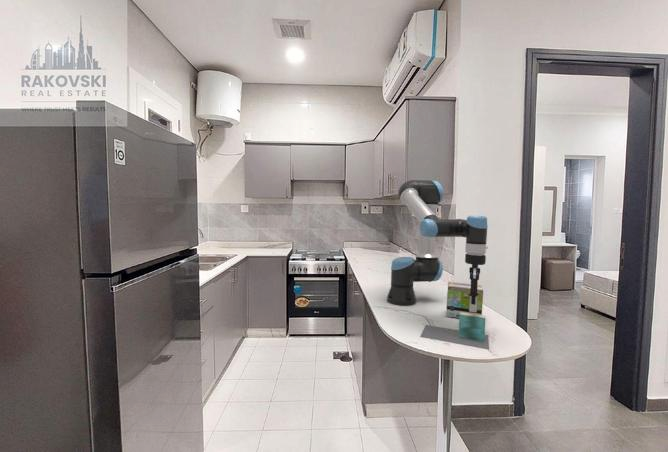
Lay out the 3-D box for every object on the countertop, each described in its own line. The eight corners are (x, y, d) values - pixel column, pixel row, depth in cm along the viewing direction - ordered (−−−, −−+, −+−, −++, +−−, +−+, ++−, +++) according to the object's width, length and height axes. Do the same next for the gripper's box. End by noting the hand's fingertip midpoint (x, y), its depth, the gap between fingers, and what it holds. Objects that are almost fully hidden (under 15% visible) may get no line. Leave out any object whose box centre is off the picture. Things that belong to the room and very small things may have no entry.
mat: (419, 338, 122) (420, 336, 122) (425, 325, 135) (425, 324, 135) (489, 351, 112) (489, 349, 112) (488, 336, 125) (488, 335, 125)
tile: (458, 337, 123) (459, 314, 122) (458, 334, 125) (459, 311, 125) (484, 341, 119) (485, 318, 118) (484, 338, 122) (485, 315, 121)
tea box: (446, 317, 146) (447, 285, 145) (446, 310, 156) (447, 281, 155) (482, 322, 141) (483, 289, 140) (480, 314, 150) (481, 284, 149)
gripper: (486, 257, 120) (483, 317, 122) (485, 252, 132) (482, 308, 134) (464, 255, 123) (462, 314, 125) (466, 251, 135) (463, 305, 137)
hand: (472, 311), depth 129 cm, fingers closed
